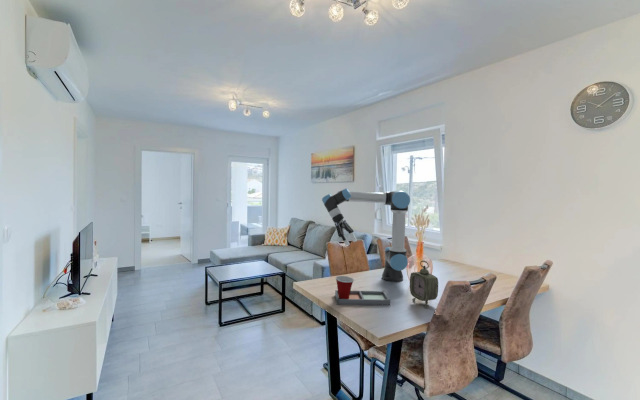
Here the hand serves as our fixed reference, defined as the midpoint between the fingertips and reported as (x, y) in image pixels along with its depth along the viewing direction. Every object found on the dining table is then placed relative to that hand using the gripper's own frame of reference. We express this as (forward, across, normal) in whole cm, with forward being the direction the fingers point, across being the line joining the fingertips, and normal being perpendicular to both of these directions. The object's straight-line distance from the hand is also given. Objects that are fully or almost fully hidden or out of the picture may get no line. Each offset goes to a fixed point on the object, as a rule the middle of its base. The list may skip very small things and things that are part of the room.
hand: (351, 243), depth 204 cm
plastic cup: (+27, +27, -9) cm, 39 cm away
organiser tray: (+32, +22, -3) cm, 39 cm away
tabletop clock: (+51, +9, +25) cm, 57 cm away
